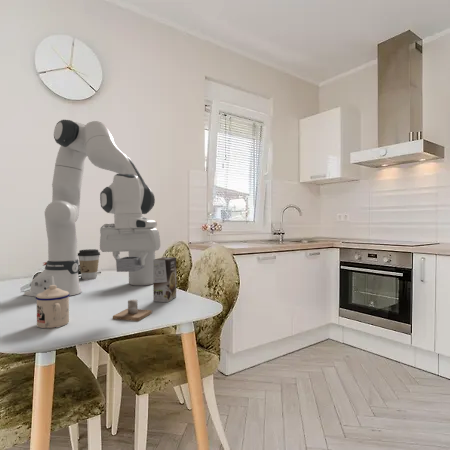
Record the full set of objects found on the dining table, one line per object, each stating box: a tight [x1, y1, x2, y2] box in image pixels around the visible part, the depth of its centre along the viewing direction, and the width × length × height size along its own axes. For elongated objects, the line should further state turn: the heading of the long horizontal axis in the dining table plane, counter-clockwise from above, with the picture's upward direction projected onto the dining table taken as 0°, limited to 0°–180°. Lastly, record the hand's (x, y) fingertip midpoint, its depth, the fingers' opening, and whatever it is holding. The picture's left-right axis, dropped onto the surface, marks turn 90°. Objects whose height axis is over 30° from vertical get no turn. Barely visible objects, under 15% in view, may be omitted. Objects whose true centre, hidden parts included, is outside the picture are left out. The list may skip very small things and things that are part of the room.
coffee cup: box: [77, 248, 101, 281], centre depth 182 cm, size 11×11×15 cm
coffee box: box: [152, 256, 177, 303], centre depth 135 cm, size 9×6×16 cm
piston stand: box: [112, 299, 153, 322], centre depth 112 cm, size 9×9×5 cm
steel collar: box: [115, 256, 144, 273], centre depth 113 cm, size 6×6×4 cm
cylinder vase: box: [128, 251, 156, 287], centre depth 167 cm, size 12×12×25 cm
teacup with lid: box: [35, 285, 71, 329], centre depth 102 cm, size 12×9×12 cm
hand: (130, 265), depth 113 cm, fingers closed on steel collar, 6 cm apart
